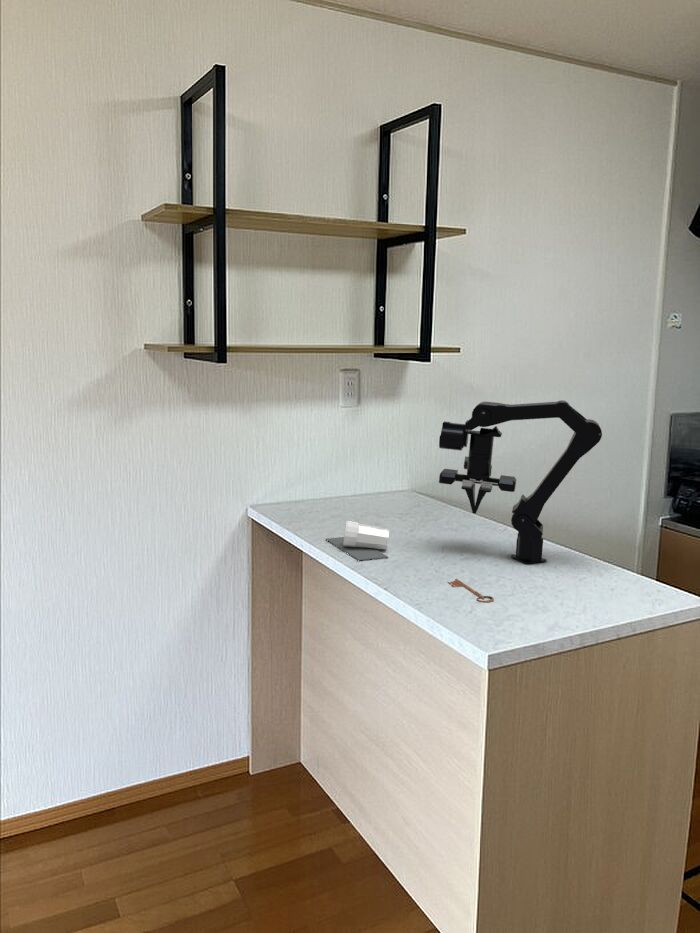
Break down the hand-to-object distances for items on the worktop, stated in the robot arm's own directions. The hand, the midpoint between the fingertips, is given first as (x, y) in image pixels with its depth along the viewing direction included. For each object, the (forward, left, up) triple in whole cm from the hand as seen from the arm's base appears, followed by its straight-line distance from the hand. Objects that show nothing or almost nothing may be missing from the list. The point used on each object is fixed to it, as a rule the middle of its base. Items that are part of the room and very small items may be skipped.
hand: (474, 513), depth 209 cm
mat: (+14, +26, -11) cm, 31 cm away
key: (-24, +17, -11) cm, 32 cm away
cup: (+10, +19, -8) cm, 23 cm away
